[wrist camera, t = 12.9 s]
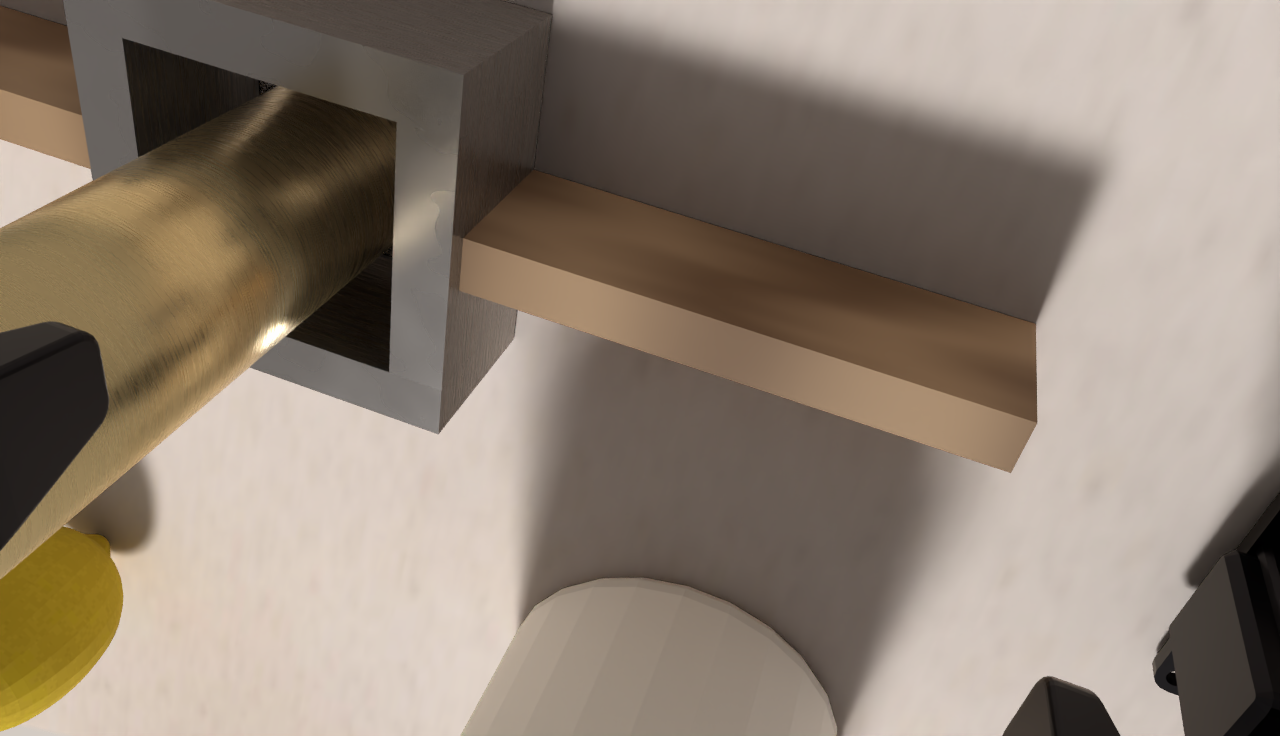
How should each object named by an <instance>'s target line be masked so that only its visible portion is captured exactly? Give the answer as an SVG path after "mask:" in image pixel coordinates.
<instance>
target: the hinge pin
mask: <svg viewBox="0 0 1280 736" xmlns="http://www.w3.org/2000/svg"><path fill="white" fill-rule="evenodd" d="M396 129H397V122H395V121H391V120H388V119H385V118H382V117H378V116H375V115H372V114H368V113H365V112H362V111H359V110H355V109H352V108H349V107H346V106H342V105H339V104H336V103H333V102H329V101H326V100H323V99H320V98H316V97H313V96H310V95H306V94H303V93H300V92H297V91H293V90H290V89H287V88H284V87H280V86H277V87H275V88H273V89H271V90H269V91H267V92H265V93H263V94H261V95H259V96H257V97H255V98H253V99H251V100H249V101H247V102H245V103H244V104H242V105H240V106H238V107H236V108H234V109H232V110H230V111H228V112H226V113H224V114H222V115H220V116H218V117H216V118H214V119H212V120H210V121H208V122H207V123H205V124H203V125H201V126H199V127H197V128H195V129H193V130H191V131H189V132H187V133H185V134H183V135H181V136H179V137H177V138H175V139H173V140H171V141H169V142H168V143H166V144H164V145H162V146H160V147H158V148H156V149H154V150H152V151H150V152H148V153H146V154H144V155H142V156H140V157H138V158H136V159H134V160H132V161H131V162H129V163H127V164H125V165H123V166H121V167H119V168H117V169H115V170H113V171H111V172H109V173H107V174H105V175H103V176H101V177H99V178H97V179H95V180H93V181H92V182H90V183H88V184H86V185H84V186H82V187H80V188H78V189H76V190H74V191H72V192H70V193H68V194H66V195H64V196H62V197H60V198H58V199H56V200H55V201H53V202H51V203H49V204H47V205H45V206H43V207H41V208H39V209H37V210H35V211H33V212H31V213H29V214H27V215H25V216H23V217H21V218H19V219H18V220H16V221H14V222H12V223H10V224H8V225H6V226H4V227H2V228H0V333H1V332H5V331H9V330H13V329H17V328H21V327H26V326H30V325H34V324H38V323H42V322H48V321H54V322H60V323H63V324H66V325H69V326H72V327H74V328H77V329H80V330H83V331H86V332H88V333H90V334H91V335H93V336H94V337H95V339H96V340H97V342H98V344H99V347H100V351H101V357H102V362H103V368H104V373H105V378H106V384H107V389H108V395H109V407H108V411H107V414H106V417H105V419H104V421H103V423H102V424H101V426H100V427H99V429H98V430H97V431H96V432H95V434H94V435H93V436H92V437H91V439H90V440H89V441H88V442H87V444H86V445H85V446H84V448H83V449H82V450H81V451H80V453H79V454H78V455H77V456H76V458H75V459H74V460H73V462H72V463H71V464H70V465H69V467H68V468H67V469H66V470H65V472H64V473H63V474H62V475H61V477H60V478H59V479H58V481H57V482H56V483H55V484H54V486H53V487H52V488H51V489H50V491H49V492H48V493H47V494H46V496H45V497H44V498H43V500H42V501H41V502H40V503H39V505H38V506H37V507H36V508H35V510H34V511H33V512H32V514H31V515H30V516H29V517H28V519H27V520H26V521H25V522H24V524H23V525H22V526H21V527H20V529H19V530H18V531H17V532H16V533H15V535H14V536H13V537H12V538H11V539H10V541H9V542H8V543H7V544H6V545H5V547H4V548H3V549H2V550H1V551H0V579H2V578H3V577H4V576H5V575H6V574H7V573H9V572H10V571H11V570H12V569H13V568H14V567H16V566H17V565H18V564H19V563H20V562H21V561H23V560H24V559H25V558H26V557H27V556H29V555H30V554H31V553H32V552H33V551H34V550H36V549H37V548H38V547H39V546H40V545H41V544H43V543H44V542H45V541H46V540H47V539H48V538H50V537H51V536H52V535H53V534H54V533H56V532H57V531H58V530H59V529H60V528H61V527H63V526H64V525H65V524H66V523H67V522H68V521H70V520H71V519H72V518H73V517H74V516H75V515H77V514H78V513H79V512H80V511H81V510H82V509H84V508H85V507H86V506H87V505H88V504H90V503H91V502H92V501H93V500H94V499H95V498H97V497H98V496H99V495H100V494H101V493H102V492H104V491H105V490H106V489H107V488H108V487H109V486H111V485H112V484H113V483H114V482H115V481H117V480H118V479H119V478H120V477H121V476H122V475H124V474H125V473H126V472H127V471H128V470H129V469H131V468H132V467H133V466H134V465H135V464H136V463H138V462H139V461H140V460H141V459H142V458H143V457H145V456H146V455H147V454H148V453H149V452H151V451H152V450H153V449H154V448H155V447H156V446H158V445H159V444H160V443H161V442H162V441H163V440H165V439H166V438H167V437H168V436H169V435H170V434H172V433H173V432H174V431H175V430H176V429H177V428H179V427H180V426H181V425H182V424H183V423H185V422H186V421H187V420H188V419H189V418H190V417H192V416H193V415H194V414H195V413H196V412H197V411H199V410H200V409H201V408H202V407H203V406H204V405H206V404H207V403H208V402H209V401H210V400H212V399H213V398H214V397H215V396H216V395H217V394H219V393H220V392H221V391H222V390H223V389H224V388H226V387H227V386H228V385H229V384H230V383H231V382H233V381H234V380H235V379H236V378H237V377H238V376H240V375H241V374H242V373H243V372H244V371H246V370H247V369H248V368H249V367H250V366H251V365H253V364H254V363H255V362H256V361H257V360H258V359H260V358H261V357H262V356H263V355H264V354H265V353H267V352H268V351H269V350H270V349H271V348H272V347H274V346H275V345H276V344H277V343H278V342H280V341H281V340H282V339H283V338H284V337H285V336H287V335H288V334H289V333H290V332H291V331H292V330H294V329H295V328H296V327H297V326H298V325H299V324H301V323H302V322H303V321H304V320H305V319H307V318H308V317H309V316H310V315H311V314H312V313H314V312H315V311H316V310H317V309H318V308H319V307H321V306H322V305H323V304H324V303H325V302H326V301H328V300H329V299H330V298H331V297H332V296H333V295H335V294H336V293H337V292H338V291H339V290H341V289H342V288H343V287H344V286H345V285H346V284H348V283H349V282H350V281H351V280H352V279H353V278H355V277H356V276H357V275H358V274H359V273H360V272H362V271H363V270H364V269H365V268H366V267H367V266H369V265H370V264H371V263H372V262H373V261H375V260H376V259H377V258H378V257H379V256H380V255H382V254H383V253H384V252H385V251H386V250H387V249H389V248H390V247H391V246H392V245H393V228H394V195H395V162H396Z"/></svg>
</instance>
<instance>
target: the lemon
mask: <svg viewBox="0 0 1280 736" xmlns="http://www.w3.org/2000/svg"><path fill="white" fill-rule="evenodd" d="M122 606H123V589H122V583H121V578H120V575H119V572H118V570H117V568H116V566H115V563H114V562H113V560H112V559H111V558H110V544H109V542H108V540H107V539H106V538H105V537H103V536H101V535H99V534H83V533H81V532H78V531H76V530H74V529H71V528H67V527H61V528H60V529H59V530H58V531H57V532H56V533H54V534H53V535H52V536H51V537H50V538H48V539H47V540H46V541H45V542H44V543H43V544H41V545H40V546H39V547H38V548H37V549H36V550H34V551H33V552H32V553H31V554H30V555H29V556H27V557H26V558H25V559H24V560H23V561H21V562H20V563H19V564H18V565H17V566H16V567H14V568H13V569H12V570H11V571H10V572H9V573H7V574H6V575H5V576H4V577H3V578H2V579H0V731H4V730H6V729H9V728H12V727H15V726H17V725H19V724H21V723H23V722H26V721H28V720H29V719H31V718H33V717H34V716H36V715H38V714H40V713H41V712H43V711H44V710H46V709H47V708H49V707H50V706H51V705H53V704H54V703H56V702H57V701H58V700H60V699H61V698H62V697H63V696H65V695H66V694H67V693H68V692H69V691H71V690H72V689H73V688H74V687H75V686H76V685H77V684H78V683H79V682H80V681H81V680H82V679H83V678H84V677H85V676H86V675H87V674H88V672H89V671H90V670H91V669H92V668H93V666H94V665H95V664H96V663H97V661H98V660H99V659H100V658H101V656H102V655H103V653H104V652H105V650H106V649H107V647H108V646H109V644H110V643H111V641H112V639H113V637H114V635H115V633H116V630H117V628H118V625H119V621H120V617H121V612H122Z"/></svg>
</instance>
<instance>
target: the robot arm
mask: <svg viewBox="0 0 1280 736" xmlns="http://www.w3.org/2000/svg"><path fill="white" fill-rule="evenodd" d="M108 407H109V395H108V389H107V384H106V378H105V373H104V368H103V362H102V357H101V351H100V347H99V344H98V342H97V340H96V339H95V337H94V336H93V335H91V334H90V333H88V332H86V331H83V330H80V329H77V328H74V327H72V326H69V325H66V324H63V323H60V322H54V321H48V322H42V323H38V324H34V325H30V326H26V327H21V328H17V329H13V330H9V331H5V332H1V333H0V551H1V550H2V549H3V548H4V547H5V545H6V544H7V543H8V542H9V541H10V539H11V538H12V537H13V536H14V535H15V533H16V532H17V531H18V530H19V529H20V527H21V526H22V525H23V524H24V522H25V521H26V520H27V519H28V517H29V516H30V515H31V514H32V512H33V511H34V510H35V508H36V507H37V506H38V505H39V503H40V502H41V501H42V500H43V498H44V497H45V496H46V494H47V493H48V492H49V491H50V489H51V488H52V487H53V486H54V484H55V483H56V482H57V481H58V479H59V478H60V477H61V475H62V474H63V473H64V472H65V470H66V469H67V468H68V467H69V465H70V464H71V463H72V462H73V460H74V459H75V458H76V456H77V455H78V454H79V453H80V451H81V450H82V449H83V448H84V446H85V445H86V444H87V442H88V441H89V440H90V439H91V437H92V436H93V435H94V434H95V432H96V431H97V430H98V429H99V427H100V426H101V424H102V423H103V421H104V419H105V417H106V414H107V411H108ZM1169 634H1170V638H1169V639H1168V641H1167V642H1166V643H1165V645H1164V646H1163V647H1162V649H1161V650H1160V651H1159V653H1158V654H1157V655H1156V657H1155V658H1154V661H1153V663H1152V665H1153V672H1154V678H1155V682H1156V684H1157V685H1158V686H1159V687H1160V688H1162V689H1164V690H1166V691H1168V692H1170V693H1173V694H1176V695H1179V700H1180V707H1181V713H1182V720H1183V726H1184V733H1185V736H1280V493H1279V494H1278V495H1277V497H1276V498H1275V499H1274V501H1273V502H1272V503H1271V504H1270V506H1269V507H1268V508H1267V510H1266V511H1265V512H1264V514H1263V515H1262V516H1261V518H1260V519H1259V520H1258V522H1257V523H1256V524H1255V526H1254V527H1253V528H1252V530H1251V531H1250V532H1249V534H1248V535H1247V536H1246V538H1245V539H1244V540H1243V542H1242V543H1241V544H1240V546H1239V547H1238V548H1237V549H1236V550H1233V551H1231V552H1229V553H1227V554H1225V555H1223V556H1222V557H1221V558H1220V559H1219V561H1218V562H1217V563H1216V565H1215V566H1214V567H1213V569H1212V570H1211V571H1210V573H1209V574H1208V575H1207V577H1206V578H1205V579H1204V581H1203V582H1202V583H1201V585H1200V586H1199V587H1198V589H1197V590H1196V591H1195V593H1194V594H1193V595H1192V597H1191V598H1190V599H1189V601H1188V602H1187V603H1186V605H1185V606H1184V607H1183V609H1182V610H1181V611H1180V613H1179V614H1178V615H1177V617H1176V618H1175V619H1174V621H1173V622H1172V623H1171V625H1170V627H1169ZM1173 671H1175V673H1172V672H1173ZM1003 736H1120V734H1119V732H1118V730H1117V729H1116V727H1115V725H1114V723H1113V721H1112V720H1111V718H1110V716H1109V714H1108V712H1107V711H1106V709H1105V707H1104V705H1103V703H1102V702H1101V700H1100V699H1099V698H1098V697H1097V695H1096V694H1095V693H1093V692H1092V691H1090V690H1089V689H1086V688H1083V687H1080V686H1077V685H1075V684H1072V683H1069V682H1066V681H1063V680H1061V679H1058V678H1055V677H1050V676H1047V677H1043V678H1042V679H1040V680H1039V681H1038V682H1037V683H1036V684H1035V686H1034V687H1033V689H1032V690H1031V692H1030V693H1029V695H1028V696H1027V698H1026V699H1025V701H1024V702H1023V704H1022V705H1021V707H1020V708H1019V710H1018V711H1017V713H1016V714H1015V716H1014V717H1013V719H1012V720H1011V722H1010V723H1009V725H1008V727H1007V728H1006V730H1005V731H1004V734H1003Z"/></svg>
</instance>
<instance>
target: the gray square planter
mask: <svg viewBox="0 0 1280 736" xmlns="http://www.w3.org/2000/svg"><path fill="white" fill-rule="evenodd" d="M63 3H64V9H65V15H66V21H67V28H68V34H69V40H70V46H71V52H72V58H73V64H74V70H75V76H76V82H77V88H78V94H79V100H80V106H81V112H82V118H83V124H84V130H85V136H86V142H87V148H88V154H89V160H90V166H91V172H92V178H93V180H95V179H97V178H99V177H101V176H103V175H105V174H107V173H109V172H111V171H113V170H115V169H117V168H119V167H121V166H123V165H125V164H127V163H129V162H131V161H132V160H134V159H136V158H138V157H140V156H142V155H144V154H146V153H148V152H150V151H152V150H154V149H156V148H158V147H160V146H162V145H164V144H166V143H168V142H169V141H171V140H173V139H175V138H177V137H179V136H181V135H183V134H185V133H187V132H189V131H191V130H193V129H195V128H197V127H199V126H201V125H203V124H205V123H207V122H208V121H210V120H212V119H214V118H216V117H218V116H220V115H222V114H224V113H226V112H228V111H230V110H232V109H234V108H236V107H238V106H240V105H242V104H244V103H245V102H247V101H249V100H251V99H253V98H255V97H257V96H259V83H258V80H261V81H264V82H267V83H271V84H274V85H277V86H280V87H284V88H287V89H290V90H293V91H297V92H300V93H303V94H306V95H310V96H313V97H316V98H320V99H323V100H326V101H329V102H333V103H336V104H339V105H342V106H346V107H349V108H352V109H355V110H359V111H362V112H365V113H368V114H372V115H375V116H378V117H382V118H385V119H388V120H391V121H395V122H397V129H396V162H395V195H394V228H393V257H389V256H386V255H383V254H382V255H380V256H379V257H378V258H377V259H376V260H375V261H373V262H372V263H371V264H370V265H369V266H367V267H366V268H365V269H364V270H363V271H362V272H360V273H359V274H358V275H357V276H356V277H355V278H353V279H352V280H351V281H350V282H349V283H348V284H346V285H345V286H344V287H343V288H342V289H341V290H339V291H338V292H337V293H336V294H335V295H333V296H332V297H331V298H330V299H329V300H328V301H326V302H325V303H324V304H323V305H322V306H321V307H319V308H318V309H317V310H316V311H315V312H314V313H312V314H311V315H310V316H309V317H308V318H307V319H305V320H304V321H303V322H302V323H301V324H299V325H298V326H297V327H296V328H295V329H294V330H292V331H291V332H290V333H289V334H288V335H287V336H285V337H284V338H283V339H282V340H281V341H280V342H278V343H277V344H276V345H275V346H274V347H272V348H271V349H270V350H269V351H268V352H267V353H265V354H264V355H263V356H262V357H261V358H260V359H258V360H257V361H256V362H255V363H254V364H253V365H251V366H250V368H253V369H256V370H259V371H262V372H264V373H267V374H270V375H273V376H276V377H278V378H281V379H284V380H287V381H290V382H293V383H295V384H298V385H301V386H304V387H307V388H309V389H312V390H315V391H318V392H321V393H324V394H326V395H329V396H332V397H335V398H338V399H340V400H343V401H346V402H349V403H352V404H355V405H357V406H360V407H363V408H366V409H369V410H371V411H374V412H377V413H380V414H383V415H386V416H388V417H391V418H394V419H397V420H400V421H403V422H405V423H408V424H411V425H414V426H417V427H419V428H422V429H425V430H428V431H431V432H434V433H436V434H439V433H440V432H441V430H442V429H443V428H444V427H445V425H446V424H447V423H448V422H449V420H450V419H451V418H452V416H453V415H454V414H455V413H456V411H457V410H458V409H459V408H460V406H461V405H462V404H463V403H464V401H465V400H466V399H467V398H468V396H469V395H470V394H471V392H472V391H473V390H474V389H475V387H476V386H477V385H478V384H479V382H480V381H481V380H482V379H483V377H484V376H485V375H486V373H487V372H488V371H489V370H490V368H491V367H492V366H493V365H494V363H495V362H496V361H497V360H498V358H499V357H500V356H501V355H502V353H503V352H504V351H505V349H506V348H507V347H508V346H509V344H510V343H511V342H512V341H513V339H514V330H515V322H516V314H517V310H516V309H513V308H510V307H507V306H504V305H501V304H498V303H495V302H492V301H489V300H486V299H483V298H480V297H477V296H474V295H471V294H468V293H465V292H462V291H459V285H460V272H461V259H462V246H463V238H464V237H465V236H466V235H467V234H468V233H469V232H470V231H471V230H472V229H473V228H474V227H475V226H476V225H477V224H478V223H479V222H480V221H481V220H482V219H483V218H484V217H485V216H486V215H487V214H488V213H490V212H491V211H492V210H493V209H494V208H495V207H496V206H497V205H498V204H499V203H500V202H501V201H502V200H503V199H504V198H505V197H506V196H507V195H508V194H509V193H510V192H511V191H512V190H513V189H514V188H515V187H516V186H517V185H518V184H519V183H520V182H521V181H522V180H523V179H524V178H526V177H527V176H528V175H529V174H530V173H531V172H532V171H533V170H534V162H535V154H536V146H537V137H538V129H539V120H540V112H541V104H542V95H543V87H544V78H545V70H546V62H547V53H548V45H549V36H550V28H551V20H552V14H548V13H544V12H541V11H537V10H534V9H530V8H527V7H523V6H520V5H516V4H513V3H509V2H505V1H502V0H63Z"/></svg>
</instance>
